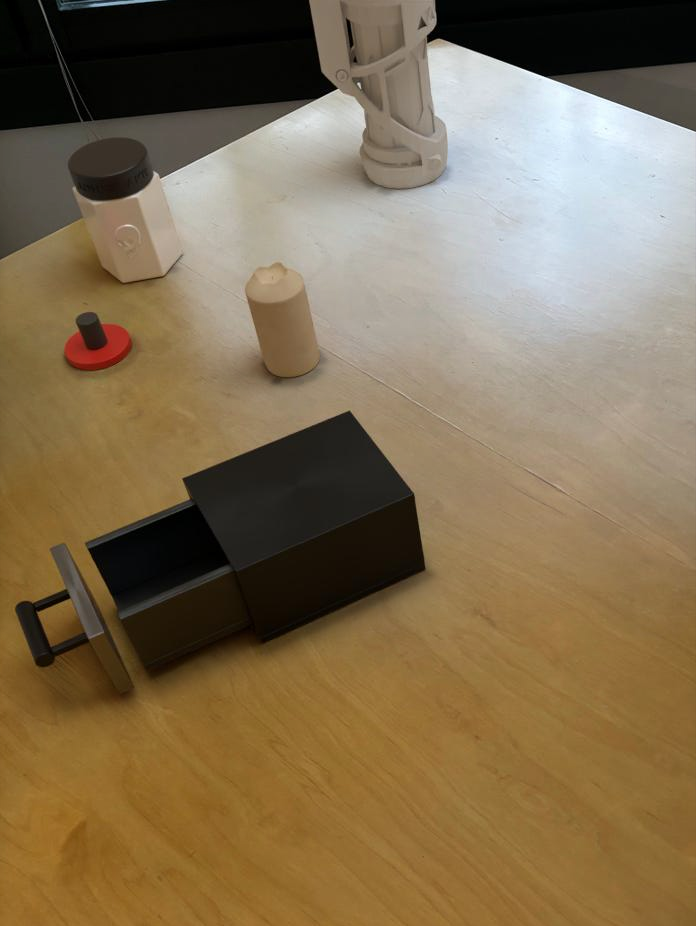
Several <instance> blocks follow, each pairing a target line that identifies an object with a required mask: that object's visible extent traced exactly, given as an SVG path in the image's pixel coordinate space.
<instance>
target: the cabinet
mask: <svg viewBox="0 0 696 926" xmlns="http://www.w3.org/2000/svg"><path fill="white" fill-rule="evenodd" d="M181 480H182V483H183V485H184V487H185V490H186V492H187V495H188V498H189V499H193V501H194V503H195V504H196V506H197V508H198V510H199V511H200V513H201V515H202V517H203V518H204V520H205V522H206V524H207V525H208V527H209V529H210V531H211V532H212V534H213V536H214V538H215V539H216V541H217V543H218V544H219V546H220V548H221V550H222V551H223V553H224V555H225V557H226V558H227V560H228V562H229V564H230V565H231V567H232V569H233V571H234V572H235V575H236V578H237V581H238V583H239V586H240V589H241V592H242V594H243V597H244V600H245V602H246V605H247V608H248V611H249V613H250V616H251V619H252V622H253V624H251V625H250V626H251V627H252V630H253V631H254V633H255V634H256V636H257V638H258V639H259V641H260V643H261V644H265V643H268V642H269V641H272V640H274V639H276V638H278V637H281V636H283V635H285V634H287V633H290V632H292V631H294V630H296V629H298V628H300V627H303V626H305V625H307V624H309V623H311V622H314V621H315V620H318V619H320V618H323V617H324V616H326V615H328V614H331V613H334V612H335V611H338V610H339V609H342V608H344V607H346V606H348V605H350V604H353V603H355V602H357V601H359V600H361V599H363V598H366V597H368V596H370V595H372V594H374V593H377V592H379V591H381V590H383V589H385V588H388V587H390V586H392V585H394V584H396V583H398V582H401V581H404V580H405V579H408V578H409V577H411V576H414V575H416V574H418V573H420V572H422V571H424V570H426V563H425V556H424V547H423V542H422V536H421V530H420V523H419V517H418V510H417V509H418V508H417V503H416V497H415V496H416V495H415V493H414V492H413V490H412V489H411V488H410V486H409V485H408V484H407V482H406V481H405V480H404V478H403V477H402V475H400V473H399V472H398V471H397V469H396V468H395V467H394V465H393V464H392V463H391V462H390V460H389V459H388V458H387V456H386V455H385V454H384V453H383V451H382V450H381V449H380V448H379V446H378V445H377V444H376V442H375V441H374V440H373V438H372V437H371V436H370V435H369V433H368V432H367V430H366V429H365V428H364V427H363V425H362V424H361V423H360V422H359V420H358V419H357V418H356V417H355V415H354V414H353V413H352V411H351V410H347V411H344V412H342V413H340V414H337V415H335V416H332V417H330V418H327V419H324V420H321V421H319V422H317V423H315V424H312V425H310V426H307V427H305V428H303V429H300V430H297V431H295V432H293V433H290V434H287V435H285V436H283V437H281V438H278V439H275V440H273V441H271V442H269V443H268V442H267V443H266V444H263V445H260V446H259V447H256V448H254V449H251V450H249V451H246V452H244V453H241V454H239V455H237V456H233V457H231V458H229V459H226V460H224V461H221V462H219V463H216V464H214V465H212V466H209V467H207V468H204V469H202V470H199V471H197V472H195V473H192V474H189V475H187V476H185V477H182V478H181Z"/></svg>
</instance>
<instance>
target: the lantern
mask: <svg viewBox="0 0 696 926" xmlns="http://www.w3.org/2000/svg"><path fill="white" fill-rule="evenodd" d="M308 1H309V7H310V13H311V18H312V24H313V30H314V36H315V41H316V47H317V53H318V58H319V64H320V70H321V73H322V74H323V75H324V76H325V77H326V78H327V79H328V80H329V81H330V82H331V83H332V84H333V85H334V86H335V87H336V88H337V89H338V90H339V91H340V92H341V93H342V94H344V95H348V96H351V97H352V98H354V99H355V100H356V102H357V103H358V104H359V105H360V107H361V108H362V109H363V115H364V123H365V128H364V129H363V131H362V135H361V137H362V143H361V145H360V147H359V156H360V160H361V163H362V168H363V169H364V171H365V173H366V176H367V177H368V179H369V180H370V181H371V182H372V183H374V184H375V185H378V186H380V187H383V188H387V189H397V190H401V189H402V190H403V189H412V188H417V187H422V186H425V185H427V184H430V183H431V182H433V181H435V180H437V179H438V178H439V177H440V176H441V175H442V174H443V173H444V172H445V169H446V167H447V161H448V148H449V142H448V132H447V125H446V122H444V120H442V119H441V118H440V117H438V116H437V115H436V114H435V108H434V107H435V106H434V102H433V96H432V88H431V79H430V78H431V77H430V68H429V57H428V35H430V34H431V32H432V31H433V30H434V29H435V27H436V25H437V12H436V0H308ZM347 20H348V21H349V23H350V29H351V36H352V42H353V45H352V47H351V44H350V37H349V32H348V24H347ZM355 58H356V62H354V60H355Z"/></svg>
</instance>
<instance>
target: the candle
mask: <svg viewBox="0 0 696 926" xmlns="http://www.w3.org/2000/svg"><path fill="white" fill-rule="evenodd" d="M244 293H245V297H246V300H247V303H248V308H249V311H250V315H251V319H252V322H253V326H254V330H255V333H256V336H257V337H256V338H257V341H258V344H259V348H260V352H261V355H262V358H263V362H264V365H265V368H266V369H267V370H268V372H270V374H272V375H274V376H277V377H282V378H294V377H299V376H302V375H305V374H307V373H309V372H311V371H312V370H313V369H315V368H316V367H317V365H318V364H319V362H320V358H321V357H320V355H321V353H320V349H319V342H318V339H317V334H316V329H315V325H314V321H313V315H312V311H311V307H310V303H309V298H308V294H307V289H306V285H305V281H304V277H303V276H302V275H301V274H300V273H299V272H298V271H296V270H294V269H293V268H291V267H288V266H286V265H285V264H283V263H282V262H280V261H277V262H276V261H275V262H274V263H272V264H271V265H269V266H259V267H256V268H255V269H254V271H253V273H252V275H251V276H250V278H249V279H248V280H247V282H246V284H245V287H244Z"/></svg>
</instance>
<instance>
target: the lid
mask: <svg viewBox="0 0 696 926" xmlns="http://www.w3.org/2000/svg"><path fill="white" fill-rule="evenodd" d="M75 324H76V326H77V329H78V331H77V332H76V333H74V334H73V335H71V336H70V337H69V339H68V340H67V341H66V343H65V345H64V347H63V348H64V350H63V352H64V355H65V356H66V360H67V362H68V364H70V365H71V366H72V367H74V368H75V369H79V370H82V371H83V370H84V371H96V370H97V371H98V370H103V369H106V368H109V367H111V366H115V365H116V364H117V363H119V362H121V361H122V360H124V359H125V358H126V357H127V355H128V354H129V353H130V351H131V349H132V346H133V342H132V339H131V335H130V334H129V331H128V330H127V329H126V328H125V327H123V326H121V325H119V324H113V323H102V322H101V320H100V318H99V316H98V314H97V313H96V312H93V311H86V312H82V313H80V314H79V315H77V317H76V318H75Z"/></svg>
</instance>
